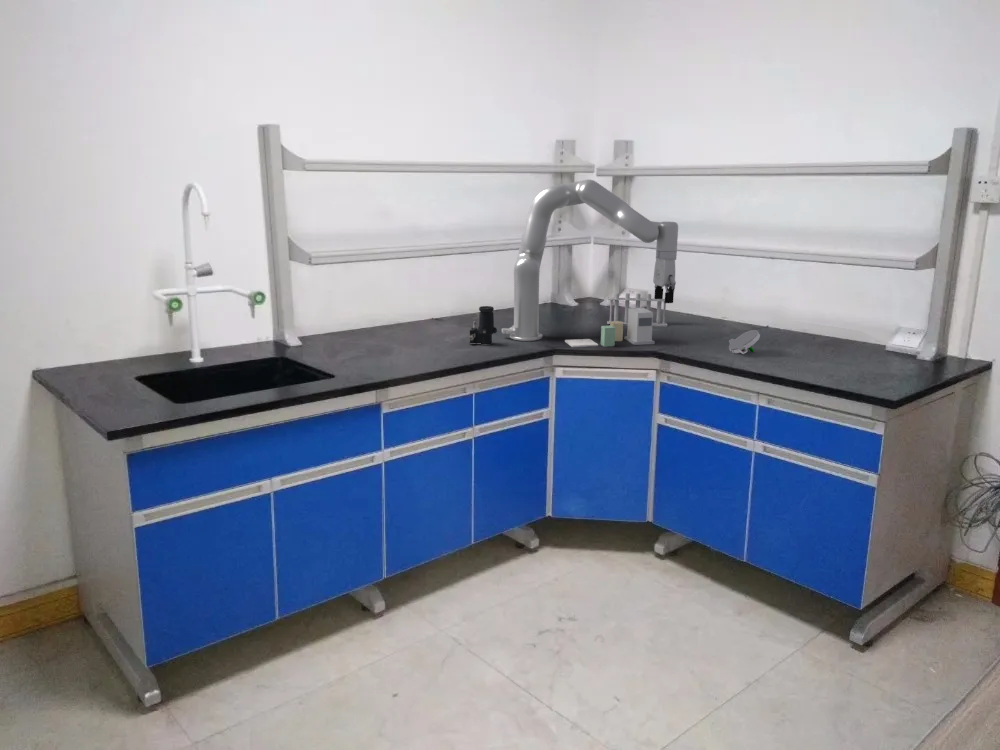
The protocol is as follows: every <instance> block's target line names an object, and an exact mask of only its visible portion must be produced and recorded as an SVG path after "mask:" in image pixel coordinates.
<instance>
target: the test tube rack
mask: <svg viewBox="0 0 1000 750" xmlns="http://www.w3.org/2000/svg"><path fill="white" fill-rule="evenodd" d="M630 296H631V294H630V293H628V292H627V293H625V297H620V293H619V292H614V297H608V301H609V302H610V304H609V305H610V307H609V320H607V321H606V325H607V324H610V321H619V308H620V307H619V306H620V301H625V305H624V321H621V322H622V323H623V324H627V325H626V326H628V308H630V301H632V302H633V301H635V308H641V302H646V308H645V309H647V310H649V311H651V305H652V304H651V303H652V302H657V305H656V306H657V307H656V321H655V322H654V321H653V326H652V327H668V323H667V322H666V308H667V307H666V306H667V303H665V298H663V299H655V298H652V294H651V293H647V294H646V298H644V297H643V298H642V297H641V293H636V295H635V297H630ZM613 301H614V306H613ZM662 304H663V310H662ZM613 307H614V312H613ZM662 311H663V313H662ZM612 316H613V317H612ZM661 316H662V318H661ZM612 318H613V319H612ZM661 319H662V322H661Z"/></svg>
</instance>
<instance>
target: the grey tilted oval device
mask: <svg viewBox="0 0 1000 750" xmlns="http://www.w3.org/2000/svg"><path fill="white" fill-rule="evenodd" d="M760 338H761V334H760V332H759V331H758V330H757V329H750V330H747V331H745V332H743V333H742V334H740V335H738V336H737V337H736V338H733V337H732V338H731V339H729V340H728V343H729V345H728V349H729V351H730V352H731V351H732V352H731V353H735V354H742V355H745V354H746V353H747V352H748V350H749V351H750V353H751V352H753V353H755V350H754V348H753V347H752V346H754V345H755V344H756V343H757V342H758V340H760Z"/></svg>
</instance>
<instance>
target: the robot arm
mask: <svg viewBox="0 0 1000 750" xmlns="http://www.w3.org/2000/svg"><path fill="white" fill-rule="evenodd" d="M581 204H586V205H587V206H588V207H590V208H592V209H593V210H595V211H596V212H597V213H599V215H602V216H603V217H605V218H606V219H607V220H610V221H611V222H612V223H613V224H616V225H618V227H621V228H622V229H624V230H625V231H627V232H629V233H630V234H632V235H633V236H634V237H636V238H637V239H639V240H640V241H641V242H643V243H646V244H651V243H653V242H655V241H656V248H655V262H654V263H655V265H654V270H653V284H654V298H653V299H665V303H666V304H674V296H675V294H674V293H675V289H676V283H677V282H676V260H677V255H678V253H677V252H678V251H677V250H678V237H679V236H678V235H679V224H678V222H675V221H651V220H650V219H648V218H647V217H646V216H644V215H642V214H641V213H640V212H638V211H637V210H635V209H634V208H633V207H631V206H630V204H628V203H627V201H624V200H623V199H621V198H620V197H619V196H617V195H616V194H614V193H613V192H612V191H610V190H609V189H607V188H606V187H604V185H601V184H600V183H598V182H597V181H596V180H593V179H585V180H580V181H574V182H567V183H561V184H556V185H552V186H549V187H547V188H544V189H543V190H541V191H540V192H539V193H538V194H536V196H535V198H534V199H533V200H532V202H531V205H530V208H529V211H528V215H527V218H526V221H525V226H524V230H523V233H522V234H521V239H520V240H521V241H520V244H519V245H520V246H519V247H518V248H519V249H518V252H517V253H518V254H517V258H516V261H515V263H514V267H513V296H514V297H513V325H511V326H510V327H509V328H507V327H503V328H501V334H507V335H509V338H510V339H511V340H514V341H521V342H527V341H528V342H531V341H532V342H533V341H539V340H541V339H543V334H542V333H540V332H539V326H540V325H539V321H540V320H539V319H540V318H539V316H540V314H539V313H540V311H539V310H540V309H539V308H540V272H541V271H540V269H541V264H542V260H543V255H544V253H545V248H546V244H547V239H548V238H547V234H548V230H549V225H550V223H551V219H552V215H553V213H554V212H555V211H556V210H557V209H562V208H564V207H569V206H575V205H581ZM663 287H664V288H665V292H664V288H663Z"/></svg>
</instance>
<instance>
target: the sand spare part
mask: <svg viewBox="0 0 1000 750" xmlns="http://www.w3.org/2000/svg"><path fill="white" fill-rule="evenodd" d="M622 322H623V321H621V320H618V321H614V320H612V321H610V325H608V326H613V327H615V342H623V339H624V338H623V337H624V336H623V334H624V333H623V332H624V325H623V323H622Z"/></svg>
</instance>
